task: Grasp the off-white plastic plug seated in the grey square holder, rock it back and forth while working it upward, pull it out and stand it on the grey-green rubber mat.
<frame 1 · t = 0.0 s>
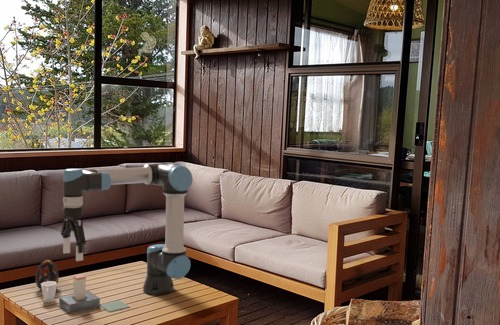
hand: (72, 256, 215), 28 cm above the table, fingers open, 13 cm apart
grey square holder: (79, 306, 235), on the table
egg: (47, 290, 255), on the table
cup: (48, 301, 239), on the table
mat: (114, 306, 236), on the table
plug: (79, 291, 234), in the grey square holder
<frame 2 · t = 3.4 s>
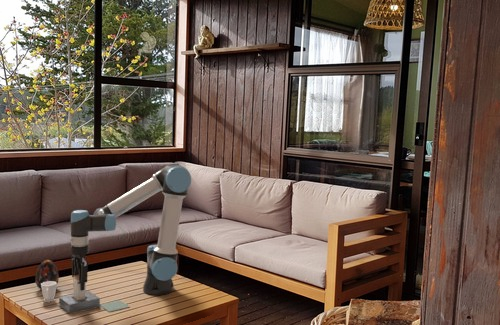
hand: (79, 295, 234), 5 cm above the table, fingers closed on plug, 4 cm apart
plug: (79, 291, 234), in the grey square holder, touching gripper
everything else where it was.
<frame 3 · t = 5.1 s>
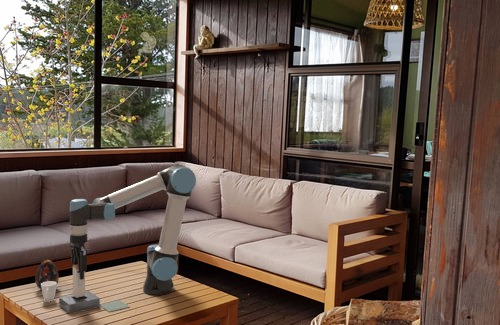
hand: (78, 284, 233), 10 cm above the table, fingers closed on plug, 4 cm apart
plug: (78, 280, 233), point 12 cm above the table, touching gripper
everything else where it was.
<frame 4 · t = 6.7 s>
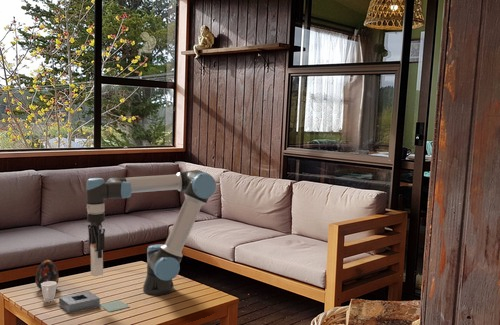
hand: (97, 263, 234), 20 cm above the table, fingers closed on plug, 4 cm apart
plug: (96, 259, 233), point 22 cm above the table, touching gripper
everything else where it was.
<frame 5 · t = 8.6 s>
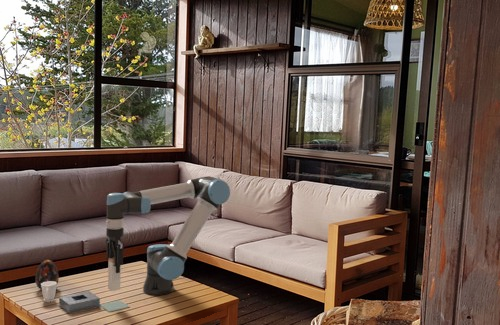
hand: (114, 278, 234), 13 cm above the table, fingers closed on plug, 4 cm apart
plug: (114, 274, 234), point 15 cm above the table, touching gripper
everything else where it was.
when the fingers open (6 cm above the table, at t = 10.1 s): plug stays where it is, resting on mat.
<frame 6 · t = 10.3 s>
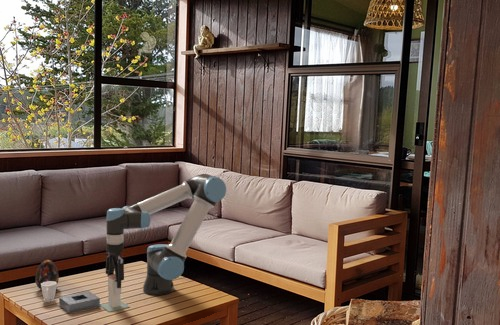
hand: (114, 292, 235), 7 cm above the table, fingers open, 6 cm apart
plug: (114, 290, 235), on the mat
everything else where it was.
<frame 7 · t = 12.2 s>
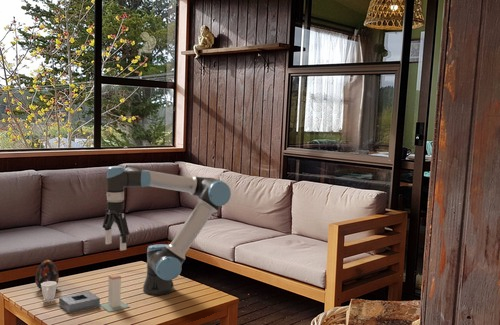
hand: (115, 246, 235), 27 cm above the table, fingers open, 13 cm apart
nothing on the table moved.
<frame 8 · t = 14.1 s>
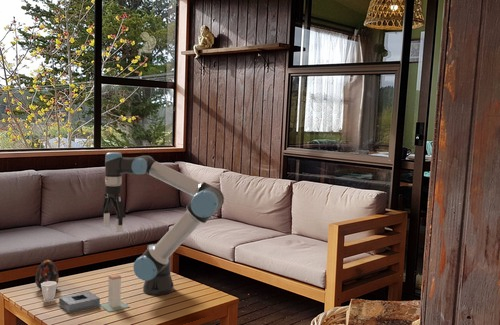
hand: (112, 229, 246), 33 cm above the table, fingers open, 13 cm apart
nothing on the table moved.
at the end: plug inside the target area on the mat (0.0 cm from its centre), point 7.4 cm above the mat's base; plug tilted 0°; plug touching mat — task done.
